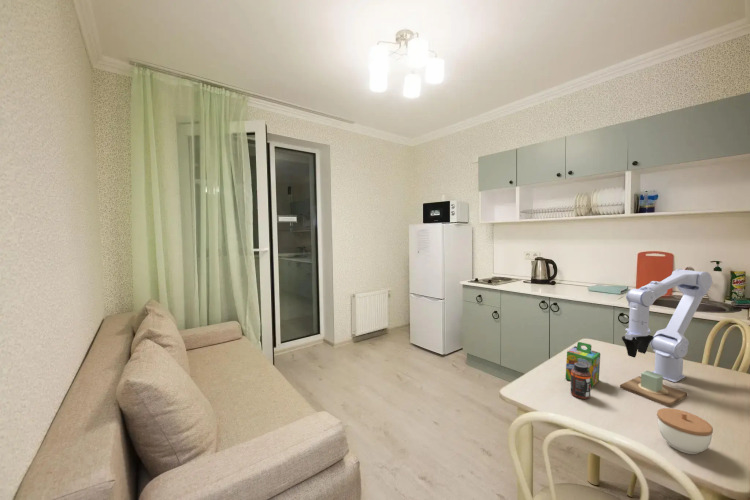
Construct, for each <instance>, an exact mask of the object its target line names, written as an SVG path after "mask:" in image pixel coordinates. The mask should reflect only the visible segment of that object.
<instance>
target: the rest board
mask: <svg viewBox="0 0 750 500" xmlns="http://www.w3.org/2000/svg"><path fill="white" fill-rule="evenodd" d="M619 388H620V389H622V390H624V391H627V392H630V393H632V394H634V395H637V396H640V397H642V398H644V399H647V400H649V401H652V402H655V403H657V404H659V405H662V406H664V407H665V406H666V407H667V408H671V407H672V406H673V405H675V404H677V403H678V402H680V401H682V400H683V399H685V398H687V397H688V392H685V391H683V390H680V389H677V388H674V387H672V386H669V385H666V384H663V385H662V389H661V390H659V391H658V392H654V391H652V390H649V389H646V388H644V387H641V375H639V376H637V377H634V378H632V379H629V380H628V381H625V382H624V383H621V384H620V385H619Z"/></svg>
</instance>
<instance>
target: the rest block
mask: <svg viewBox="0 0 750 500" xmlns="http://www.w3.org/2000/svg"><path fill="white" fill-rule="evenodd" d="M640 377H641V387H644V388H646V389H649V390H652V391H654V392H658V391H659V390H661V389H662V385H664V383H663V381H664V379H663V375H659V374H656V373H653V371H650V370H645V371H643V372H641V375H640Z"/></svg>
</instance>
